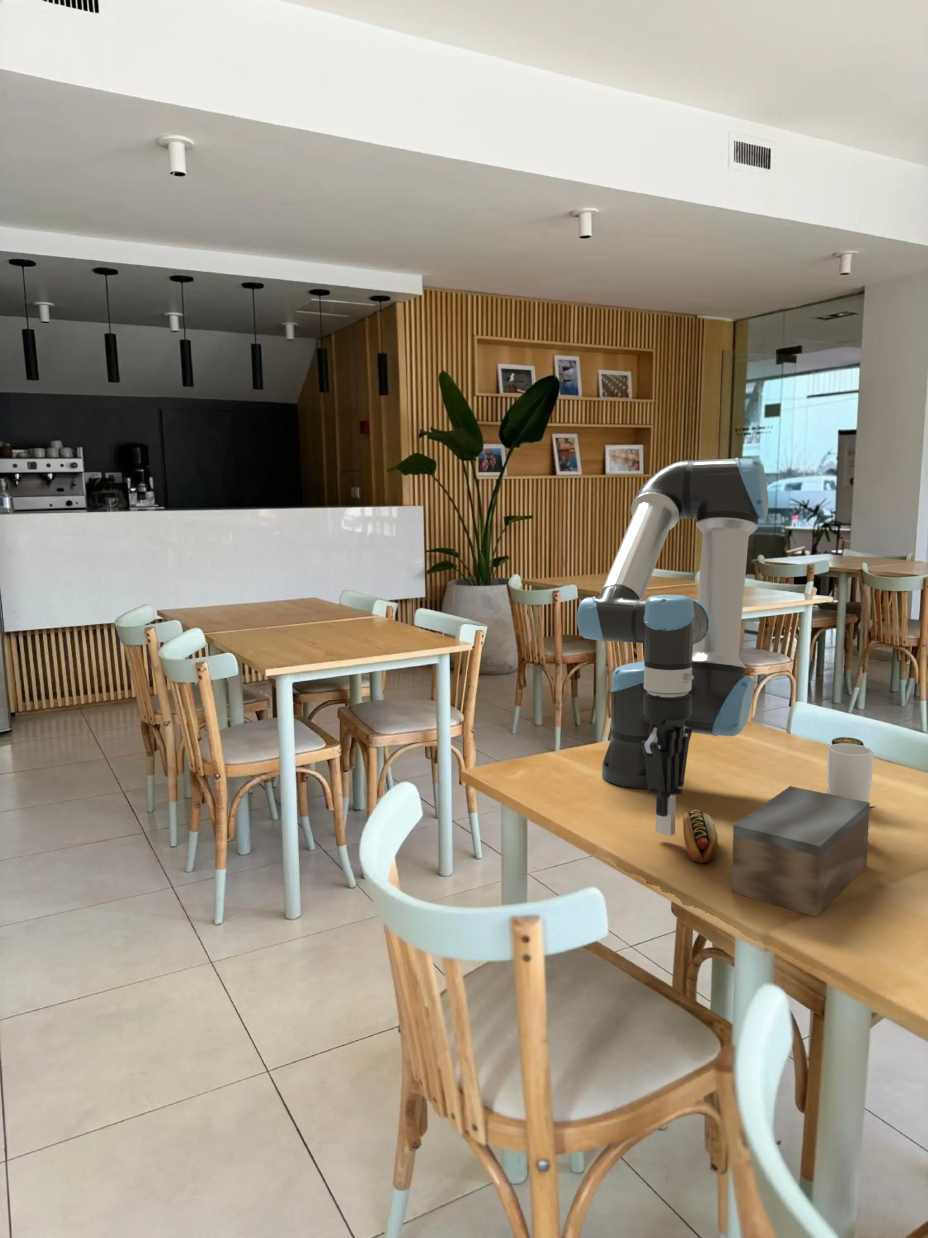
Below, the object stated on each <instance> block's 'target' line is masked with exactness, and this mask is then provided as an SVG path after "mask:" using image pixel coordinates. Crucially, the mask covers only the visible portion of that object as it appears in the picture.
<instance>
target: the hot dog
mask: <svg viewBox="0 0 928 1238" xmlns="http://www.w3.org/2000/svg"><path fill="white" fill-rule="evenodd" d="M682 826H683V828H682V829H683V837H684V838H683V839H684V843H685V847H686V851H687V853H688V855H689V856H690V859H691V860H692V861H693V862H697V863H700V864H701V863H707V862H710V861H711V860H713V858H715V857H716V855H717V851H719V850H718V849H719V848H718V847H719V839H718V832H717V829H716V826H715V824H714V822H713V820H712V818H711V816H710V815H709V814H707V813H705V812H702V811H700V810H699V809H692V810H689V811H687V812H684V814H683V818H682Z"/></svg>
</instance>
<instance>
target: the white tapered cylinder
mask: <svg viewBox="0 0 928 1238" xmlns="http://www.w3.org/2000/svg"><path fill="white" fill-rule="evenodd" d="M826 768H827V769H826V774H827V775H826V776H827V790H828V791H827V793H828V794H831V795H835V796H840V797H845V798H850V799H855V800H860V801H864V802H869V800H870V796H871V788H872V781H873V770H874V751H873V749H871V748H870V747H868V746H865V745H864V746H862V745H857V744H848V743H840V744H833V745H832V744H830V745H829V746H828V749H827V761H826ZM869 803H870V802H869Z"/></svg>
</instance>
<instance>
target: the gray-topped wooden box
mask: <svg viewBox="0 0 928 1238" xmlns="http://www.w3.org/2000/svg"><path fill="white" fill-rule="evenodd" d="M870 804H871V803H870V802H864V801H860V800H855V799H850V798H845V797H840V796H835V795H831V794H827V793H825V792H820V791H815V790H812V789H811V790H810V789H805V788H801V787H796V786H792V785H789V786H788V787H787V788H786V789H784V790H782V791H781V792H779V793H777V795H775V796H774V797H772V798H771V799H769V800H767V801H766V802H765V803H763V804H762V805H760V806H759V807H757V808H756V809H754V810H753V811H752V812H750V813H748V814H747V815H745V816H744V817H742V818H741V819H740V820H738V821H737V822H735V823H734V824H733V828H732V829H733V830H732V861H731V862H732V865H731V868H732V869H731V892H732V893H735V894H738V895H741V896H744V897H748V898H751V899H755V900H758V901H762V902H765V903H768V904H772V905H775V906H777V907H778V906H779V907H782V908H785V909H789V910H791V911H794V912H799V913H801V914H805V915H809V916H812V917H815V918H818V917H819V916H820V915H821V914H822V913H823V911H825V909H826V908H827V907H828V906H829V905H831V903H832V902H833V901H834V900H835V899H836V898H837V897H838V896H839V895H840V894H841V893H842V892H843V891H844V890H845V889H846V887H848V886H849V885H850V883H851V882H853V881H854V879H856V878H857V876H859V874H860V873H861V872H862V871H863V870H865V868H866V867H867V866H868V864H867V863H868V845H869V829H870V828H869V827H870V826H869V825H870V824H869V823H870V822H869V821H870V808H871V807H870Z"/></svg>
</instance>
